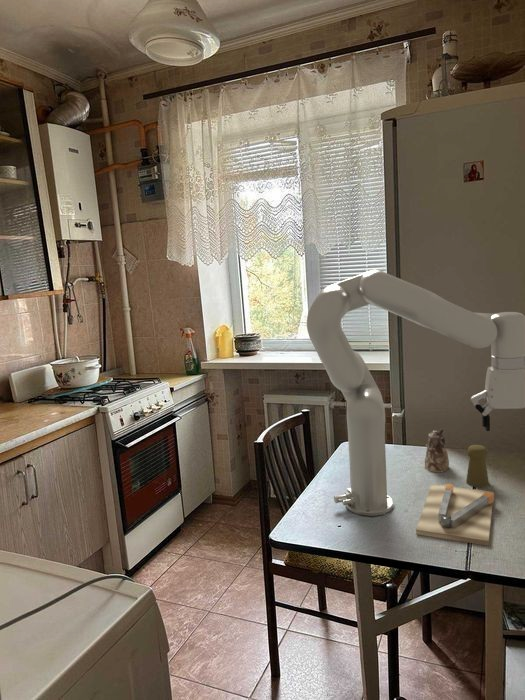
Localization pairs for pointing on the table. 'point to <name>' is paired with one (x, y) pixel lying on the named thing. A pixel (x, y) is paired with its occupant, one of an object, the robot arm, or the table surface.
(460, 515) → the tongs arm
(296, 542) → the table surface
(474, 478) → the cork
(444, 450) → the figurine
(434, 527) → the board
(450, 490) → the arm
